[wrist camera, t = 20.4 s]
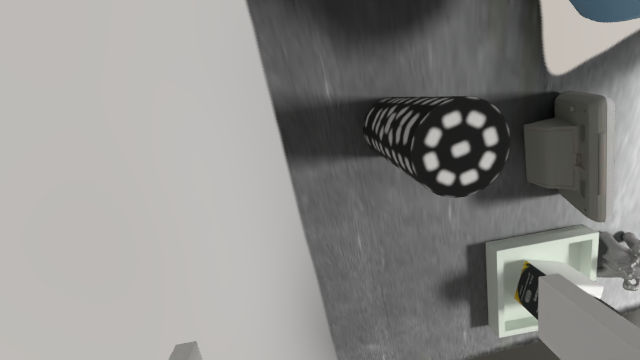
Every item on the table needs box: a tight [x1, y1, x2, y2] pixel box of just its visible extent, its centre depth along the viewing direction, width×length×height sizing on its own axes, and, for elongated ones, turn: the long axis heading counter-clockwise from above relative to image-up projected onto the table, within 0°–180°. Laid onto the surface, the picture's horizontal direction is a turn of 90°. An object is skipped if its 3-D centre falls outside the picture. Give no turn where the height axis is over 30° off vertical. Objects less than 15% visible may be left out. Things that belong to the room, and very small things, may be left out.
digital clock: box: [524, 91, 615, 222], centre depth 42 cm, size 16×9×11 cm, turn 2°
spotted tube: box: [363, 96, 510, 198], centre depth 35 cm, size 8×8×20 cm
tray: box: [486, 225, 599, 338], centre depth 51 cm, size 16×16×3 cm
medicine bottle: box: [514, 260, 622, 320], centre depth 46 cm, size 7×7×12 cm
